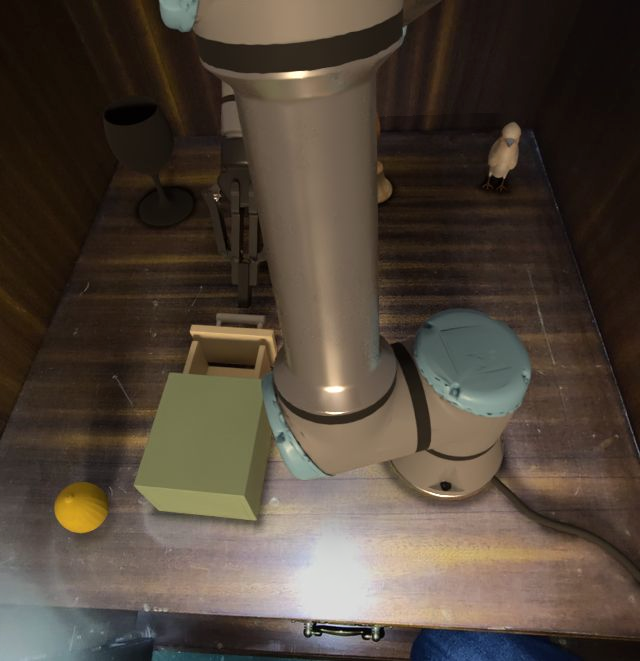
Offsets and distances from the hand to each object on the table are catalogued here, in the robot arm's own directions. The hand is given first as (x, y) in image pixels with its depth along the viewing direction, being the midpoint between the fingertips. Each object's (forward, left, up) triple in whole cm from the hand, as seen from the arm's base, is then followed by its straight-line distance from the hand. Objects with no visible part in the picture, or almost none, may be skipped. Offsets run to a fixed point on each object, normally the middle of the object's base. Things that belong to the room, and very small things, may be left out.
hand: (244, 307), depth 77 cm
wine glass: (+34, -4, -5) cm, 34 cm away
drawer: (-8, +8, -4) cm, 12 cm away
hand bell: (+12, -36, -5) cm, 38 cm away
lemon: (-12, +31, -5) cm, 34 cm away
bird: (-3, -54, -5) cm, 54 cm away
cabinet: (-15, +15, -5) cm, 22 cm away
